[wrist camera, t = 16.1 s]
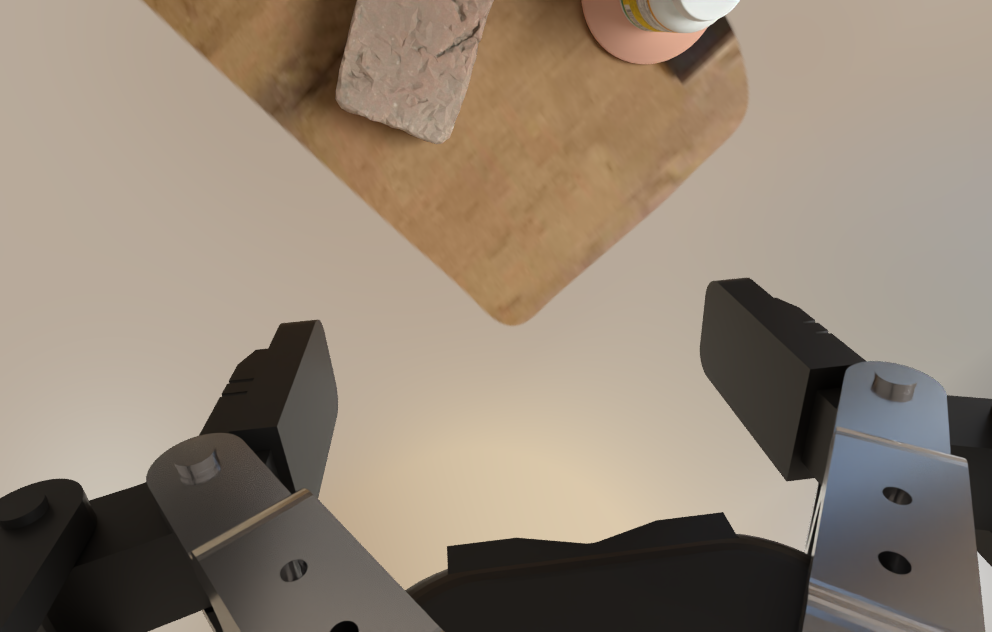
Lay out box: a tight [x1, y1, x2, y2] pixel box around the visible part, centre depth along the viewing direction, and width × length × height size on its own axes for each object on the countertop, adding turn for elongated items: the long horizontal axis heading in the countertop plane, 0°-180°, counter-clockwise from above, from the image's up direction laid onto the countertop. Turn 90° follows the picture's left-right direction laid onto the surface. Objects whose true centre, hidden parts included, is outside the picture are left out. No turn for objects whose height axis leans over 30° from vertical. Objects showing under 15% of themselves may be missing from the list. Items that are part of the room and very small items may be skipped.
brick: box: [335, 0, 494, 144], centre depth 39 cm, size 17×8×5 cm, turn 160°
